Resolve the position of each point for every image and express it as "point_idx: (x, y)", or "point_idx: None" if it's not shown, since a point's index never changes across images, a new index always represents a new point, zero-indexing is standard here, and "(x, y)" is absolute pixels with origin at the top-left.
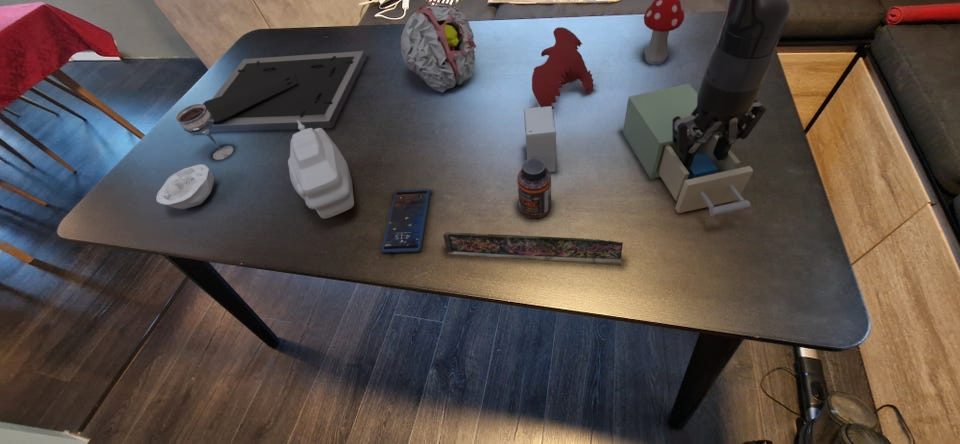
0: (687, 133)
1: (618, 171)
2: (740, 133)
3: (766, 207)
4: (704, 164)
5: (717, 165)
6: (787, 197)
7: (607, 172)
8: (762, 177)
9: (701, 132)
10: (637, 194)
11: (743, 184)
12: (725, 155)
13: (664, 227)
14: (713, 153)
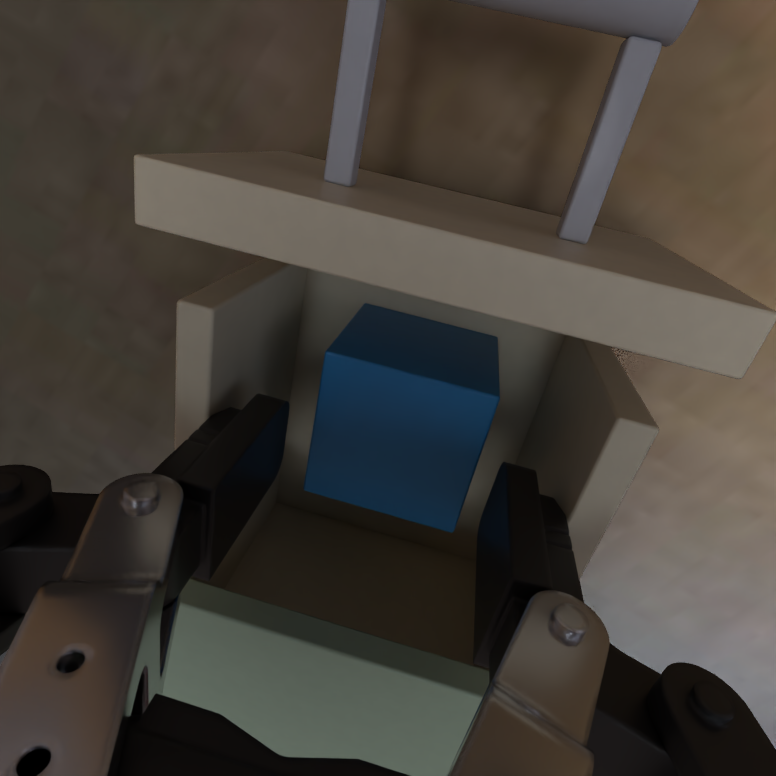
0: (357, 685)
1: (634, 592)
2: (21, 539)
3: (175, 42)
4: (376, 427)
5: (272, 386)
6: (44, 52)
7: (681, 613)
8: (91, 233)
9: (269, 643)
10: (682, 455)
11: (244, 158)
12: (230, 412)
13: (771, 200)
14: (279, 465)
